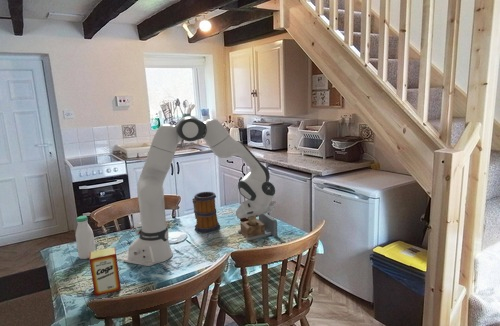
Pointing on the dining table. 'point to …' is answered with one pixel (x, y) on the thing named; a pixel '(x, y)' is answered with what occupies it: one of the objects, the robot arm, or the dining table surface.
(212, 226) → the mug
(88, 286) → the dining table surface
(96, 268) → the baking soda box
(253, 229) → the socket block
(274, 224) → the backstop
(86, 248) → the milk bottle
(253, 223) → the dowel
